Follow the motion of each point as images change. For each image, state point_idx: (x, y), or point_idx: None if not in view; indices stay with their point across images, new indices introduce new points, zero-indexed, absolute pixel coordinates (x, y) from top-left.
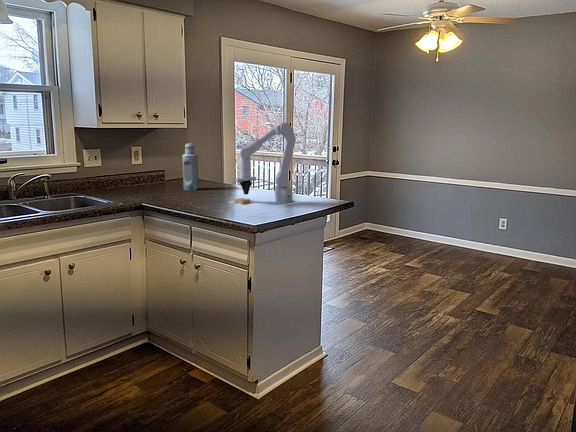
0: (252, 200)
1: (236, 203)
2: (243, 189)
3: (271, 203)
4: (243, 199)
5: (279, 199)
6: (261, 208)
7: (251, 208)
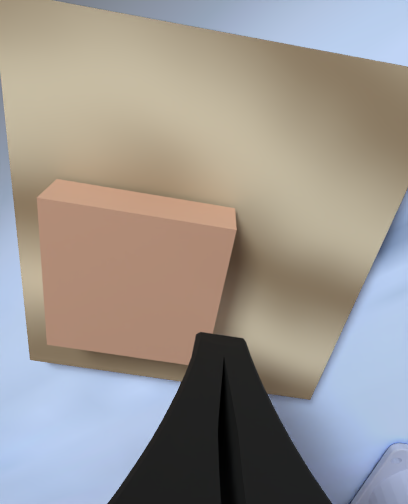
0: (355, 292)
1: (22, 242)
2: (179, 414)
3: (336, 453)
4: (131, 311)
5: None
6: (75, 479)
7: (13, 432)
